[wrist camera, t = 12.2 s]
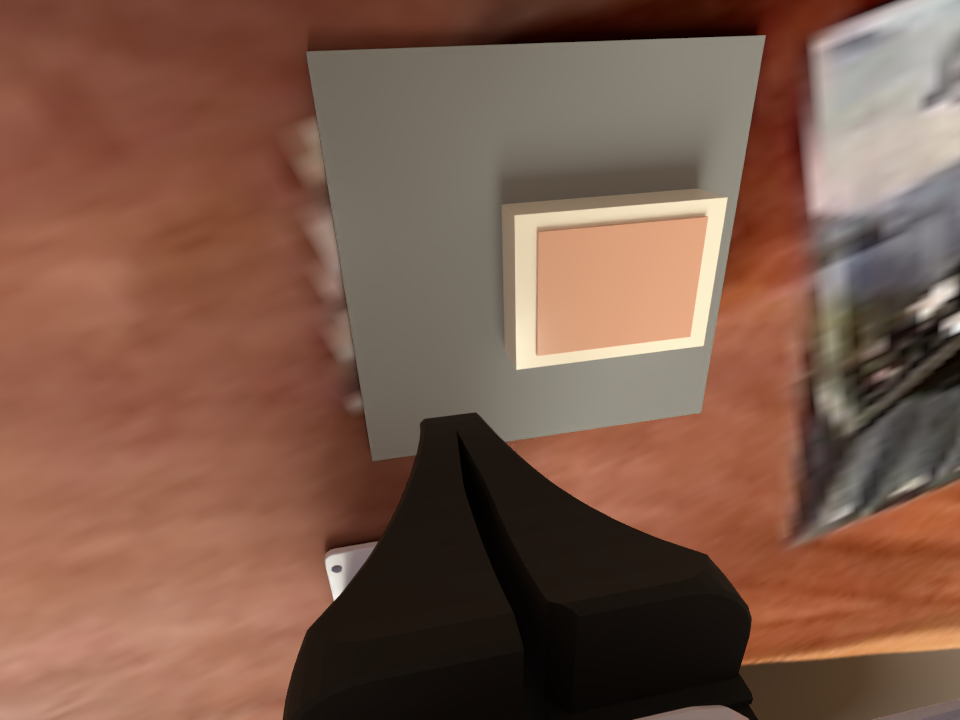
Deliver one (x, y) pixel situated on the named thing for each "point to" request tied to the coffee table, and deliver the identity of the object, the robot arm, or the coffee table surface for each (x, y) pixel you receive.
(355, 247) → the mat
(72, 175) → the coffee table surface
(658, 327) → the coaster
